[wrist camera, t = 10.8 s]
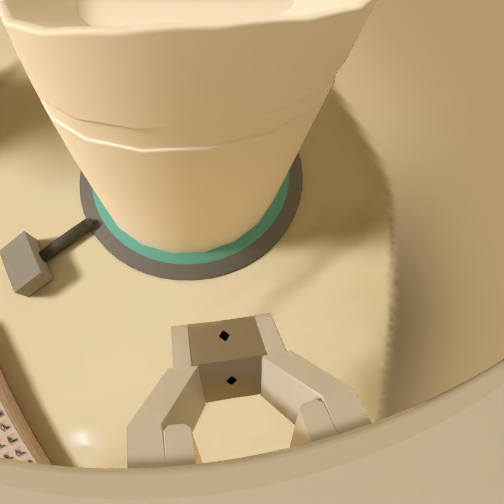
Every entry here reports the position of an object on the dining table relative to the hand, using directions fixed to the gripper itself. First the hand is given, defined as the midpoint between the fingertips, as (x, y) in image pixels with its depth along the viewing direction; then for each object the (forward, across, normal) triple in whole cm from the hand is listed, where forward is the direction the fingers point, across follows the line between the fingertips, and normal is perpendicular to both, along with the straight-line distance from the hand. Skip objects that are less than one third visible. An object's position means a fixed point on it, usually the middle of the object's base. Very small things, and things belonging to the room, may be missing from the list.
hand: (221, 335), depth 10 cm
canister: (+21, 0, 0) cm, 21 cm away
